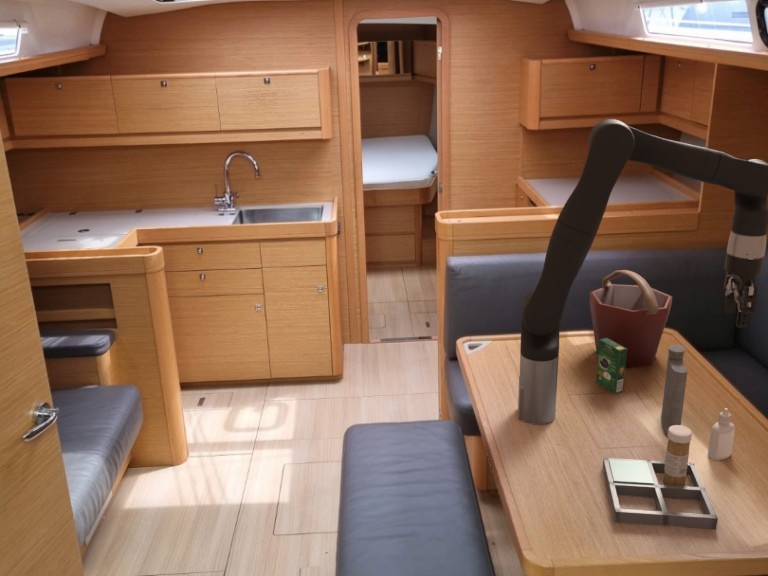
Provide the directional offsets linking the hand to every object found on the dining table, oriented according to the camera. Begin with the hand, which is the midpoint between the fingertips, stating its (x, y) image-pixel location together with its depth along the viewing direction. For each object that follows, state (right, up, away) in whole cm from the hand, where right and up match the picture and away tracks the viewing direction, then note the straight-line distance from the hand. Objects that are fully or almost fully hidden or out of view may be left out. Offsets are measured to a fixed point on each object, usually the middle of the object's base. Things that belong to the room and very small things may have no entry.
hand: (735, 319), depth 166 cm
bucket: (-8, -13, +49) cm, 51 cm away
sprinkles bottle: (-18, -35, -11) cm, 41 cm away
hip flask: (-10, -26, +13) cm, 31 cm away
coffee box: (-19, -20, +31) cm, 41 cm away
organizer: (-24, -36, -14) cm, 45 cm away
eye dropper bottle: (-4, -31, -1) cm, 31 cm away
